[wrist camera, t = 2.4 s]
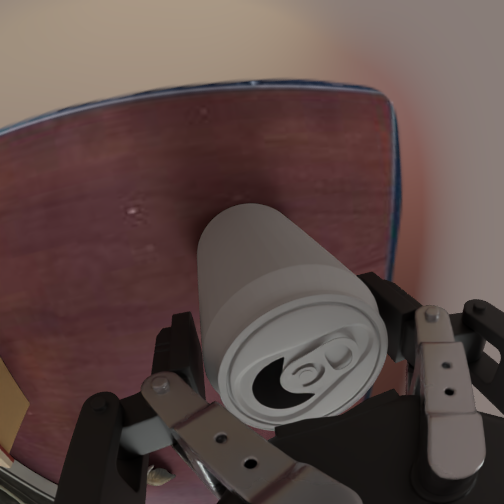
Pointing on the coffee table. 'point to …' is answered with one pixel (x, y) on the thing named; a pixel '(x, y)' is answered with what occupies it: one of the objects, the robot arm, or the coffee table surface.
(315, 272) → the beverage can
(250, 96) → the coffee table surface
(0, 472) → the boat shoe
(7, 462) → the lidded cardboard box
